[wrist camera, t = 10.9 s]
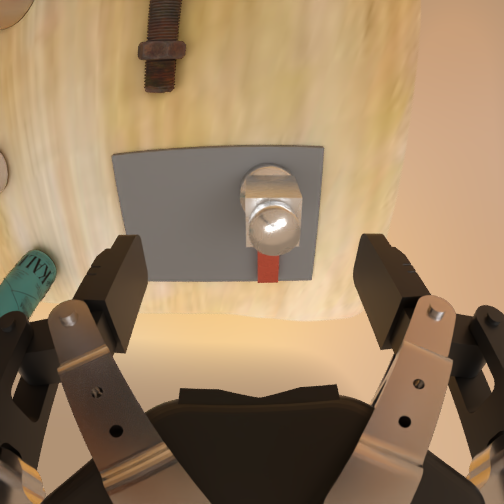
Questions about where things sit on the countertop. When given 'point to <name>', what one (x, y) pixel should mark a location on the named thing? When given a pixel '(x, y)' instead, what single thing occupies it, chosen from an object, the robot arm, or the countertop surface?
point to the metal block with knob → (272, 213)
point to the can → (3, 173)
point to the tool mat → (210, 209)
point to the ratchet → (265, 263)
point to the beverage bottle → (27, 283)
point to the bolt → (162, 46)
